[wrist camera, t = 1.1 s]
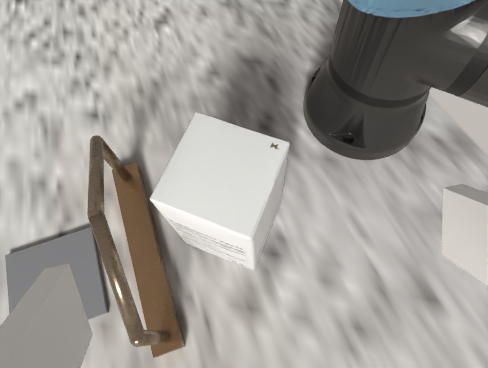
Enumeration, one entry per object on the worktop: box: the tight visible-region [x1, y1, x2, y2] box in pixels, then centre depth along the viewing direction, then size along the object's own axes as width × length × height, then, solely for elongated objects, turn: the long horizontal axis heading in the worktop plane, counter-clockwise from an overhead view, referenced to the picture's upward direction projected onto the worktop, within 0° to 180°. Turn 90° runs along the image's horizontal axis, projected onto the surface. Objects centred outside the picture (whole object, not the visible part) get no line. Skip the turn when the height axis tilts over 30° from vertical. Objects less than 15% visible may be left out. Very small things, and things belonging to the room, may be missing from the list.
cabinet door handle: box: [88, 135, 185, 358], centre depth 34 cm, size 3×22×15 cm, turn 19°
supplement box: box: [150, 112, 290, 270], centre depth 35 cm, size 9×9×15 cm
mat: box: [5, 227, 108, 319], centre depth 39 cm, size 10×10×1 cm
